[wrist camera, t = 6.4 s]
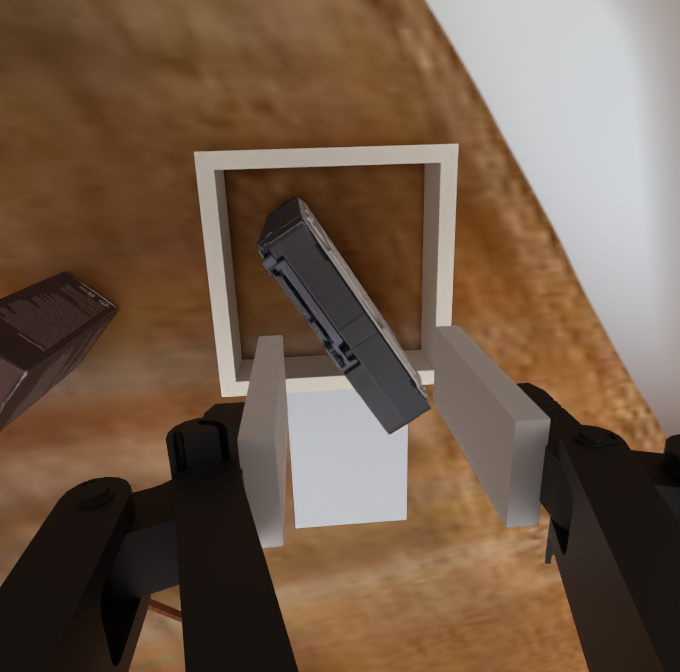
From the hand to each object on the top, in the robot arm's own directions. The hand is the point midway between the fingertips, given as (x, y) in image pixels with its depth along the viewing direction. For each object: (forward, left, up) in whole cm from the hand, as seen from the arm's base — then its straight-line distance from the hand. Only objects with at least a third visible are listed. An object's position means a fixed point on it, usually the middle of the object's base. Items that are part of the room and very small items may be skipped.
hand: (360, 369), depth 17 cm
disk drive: (0, 0, -19) cm, 19 cm away
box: (+3, -18, -19) cm, 27 cm away
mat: (+15, +1, -19) cm, 24 cm away
